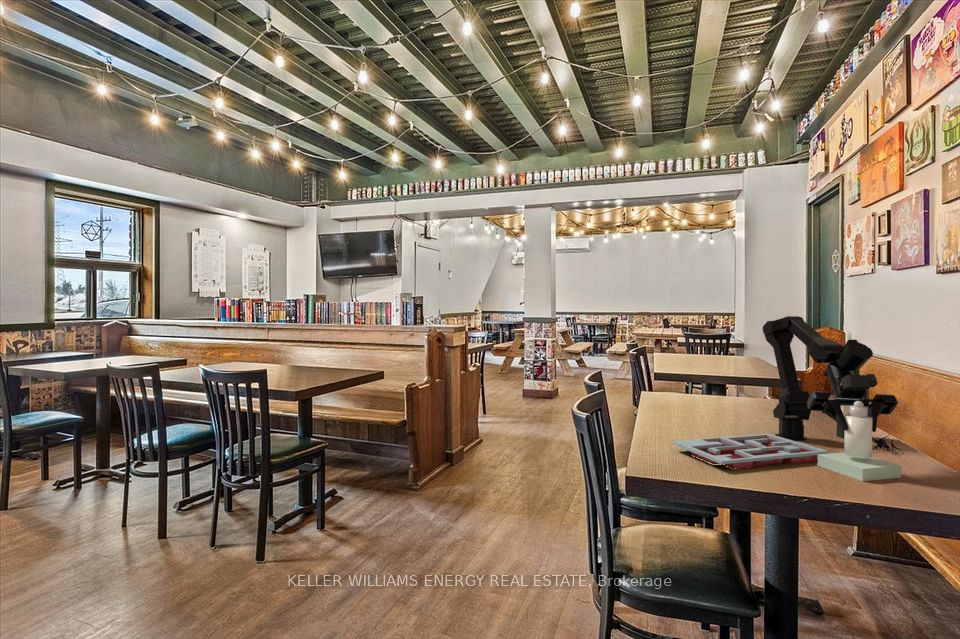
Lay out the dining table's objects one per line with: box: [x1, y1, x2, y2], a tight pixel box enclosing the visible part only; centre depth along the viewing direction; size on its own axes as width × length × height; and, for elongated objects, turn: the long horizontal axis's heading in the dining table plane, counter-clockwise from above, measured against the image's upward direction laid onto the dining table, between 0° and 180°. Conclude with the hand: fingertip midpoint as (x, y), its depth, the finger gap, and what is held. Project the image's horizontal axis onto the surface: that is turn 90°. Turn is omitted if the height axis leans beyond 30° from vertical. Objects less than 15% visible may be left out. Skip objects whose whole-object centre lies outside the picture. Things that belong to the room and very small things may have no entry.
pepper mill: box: [843, 401, 873, 459], centre depth 123 cm, size 6×6×14 cm
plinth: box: [817, 451, 902, 482], centre depth 123 cm, size 12×12×3 cm
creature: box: [872, 433, 905, 455], centre depth 140 cm, size 8×5×8 cm
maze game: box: [671, 433, 829, 470], centre depth 136 cm, size 35×20×3 cm, turn 105°
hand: (860, 430), depth 122 cm, fingers open, 6 cm apart
